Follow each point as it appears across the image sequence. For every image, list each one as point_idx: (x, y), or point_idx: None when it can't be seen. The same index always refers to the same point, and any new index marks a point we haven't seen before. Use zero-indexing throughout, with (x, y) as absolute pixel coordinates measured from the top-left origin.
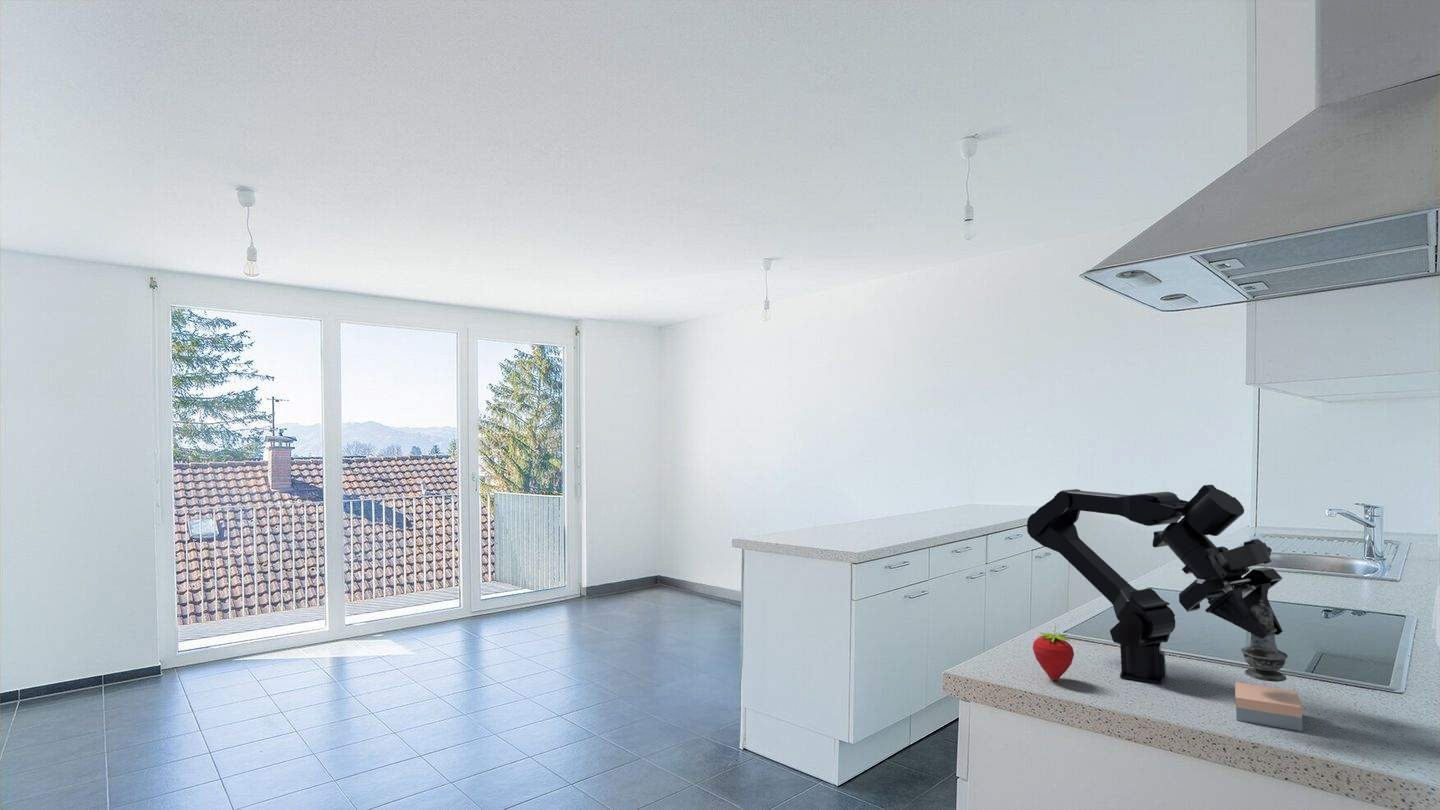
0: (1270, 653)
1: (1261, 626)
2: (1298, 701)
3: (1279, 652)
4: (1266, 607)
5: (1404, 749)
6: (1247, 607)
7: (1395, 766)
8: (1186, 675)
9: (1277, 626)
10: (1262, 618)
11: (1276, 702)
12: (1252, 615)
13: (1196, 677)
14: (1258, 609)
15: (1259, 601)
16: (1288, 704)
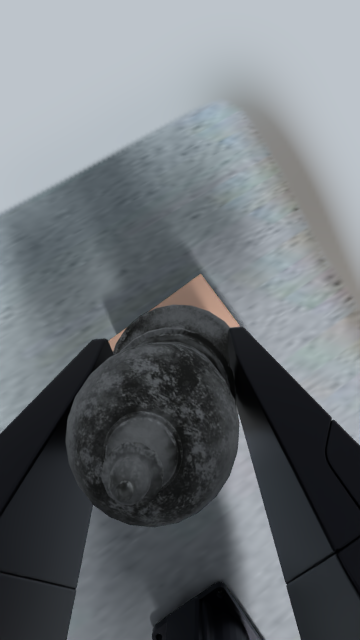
0: (203, 333)
1: (243, 354)
2: (169, 300)
3: (160, 328)
4: (160, 381)
5: (124, 177)
6: (45, 621)
7: (208, 142)
8: (109, 595)
9: (98, 357)
10: (218, 371)
11: (220, 313)
12: (285, 414)
13: (101, 575)
14: (228, 416)
15: (158, 481)
16: (208, 295)
